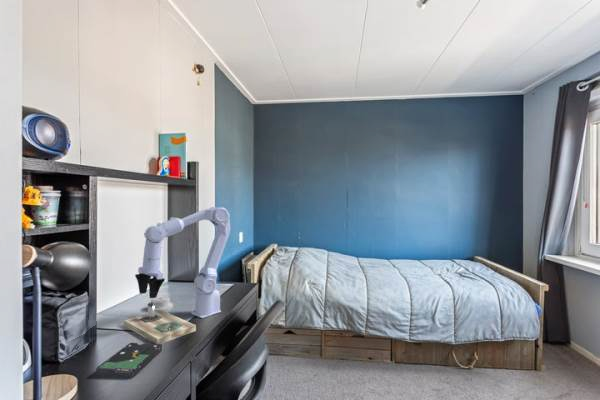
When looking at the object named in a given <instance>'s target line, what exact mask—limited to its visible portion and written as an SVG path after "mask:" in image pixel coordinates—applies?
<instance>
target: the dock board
mask: <svg viewBox="0 0 600 400" xmlns="http://www.w3.org/2000/svg"><path fill="white" fill-rule="evenodd" d="M123 326H124V327H125V328H128V329H129V330H131V331H132V332H134V333H136V334H137V335H140V336H141V337H142V338H144V339H146V340H148V341H149V342H151V343H152V344H162V345H163V344H165V343H166V342H170V341H172V340H174V339H177V338H181V337H183V336H185V335H189V334H191V333H194V332H196V331H197V325H196V324H194V323H192V322H189V321H187V320H185V319H184V318H183V319H182V318H180V317H178V316H176V315H173V314H171V313H169V312H167V311H162V310H160V311H156V312H155V319H152V320H148V313H145V314H142V315H139V316H135V317H131V318H128V319H125V320H123ZM169 328H170V329H169ZM166 329H167V330H166Z"/></svg>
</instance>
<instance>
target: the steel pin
mask: <svg viewBox="0 0 600 400" xmlns="http://www.w3.org/2000/svg"><path fill="white" fill-rule="evenodd" d="M155 305H156V303H155V302H151V301H150V302H148V303H147V307H148V310H147V314H148V320H152V319H155Z"/></svg>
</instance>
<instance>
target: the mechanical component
mask: <svg viewBox="0 0 600 400" xmlns="http://www.w3.org/2000/svg"><path fill="white" fill-rule="evenodd" d="M151 302H155V303H156V305H155V312H156V311H160V310H162V311H165V312H167V311H169V310H172V309H173V307H174V304H173V302H171V298H170V296H167V295H166V296H162V295H161V296H157V297H156V298H150V303H151ZM146 309H147V311H148V306H147V307H146Z"/></svg>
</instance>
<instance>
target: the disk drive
mask: <svg viewBox="0 0 600 400" xmlns="http://www.w3.org/2000/svg"><path fill="white" fill-rule="evenodd" d="M162 345H163V343H162V344H155V343H149V342H148V343H147V342H145V343H142V344H138V342H129V343H128V344H126V345H125V346H124V347H122V348H121V349H120V350H118V351H117V352H116V353H114V354H113V355H112V356H110V357H109V358H108V359H106V360H105V361H103V362H102V363H101V364H100V365H99V366H97V367H96V368H95V369H96V370H95V376H96V377H102V378H123V379H125V378H126V379H133V378H135V377H136V376H137V375H138V374H140V373H141V371H142V370H144V369H145V368H146V366H147V365H148V364H150V363H151V362H152V361H153V360H154V359H155V358H156V357H157V356H158V355H159V354H160V353H161V352H162V347H163V346H162Z"/></svg>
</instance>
